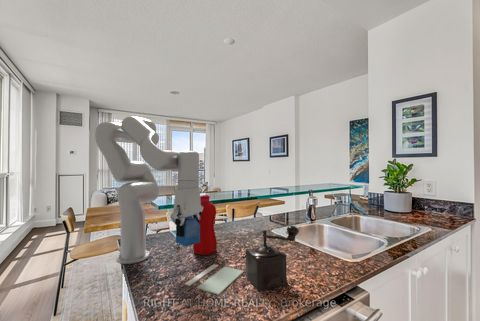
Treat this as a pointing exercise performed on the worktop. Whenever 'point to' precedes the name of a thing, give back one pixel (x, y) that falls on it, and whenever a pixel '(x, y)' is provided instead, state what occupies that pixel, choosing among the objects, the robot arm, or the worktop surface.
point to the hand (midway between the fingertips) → (188, 232)
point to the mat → (220, 280)
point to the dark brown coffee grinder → (268, 263)
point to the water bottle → (206, 228)
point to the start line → (201, 275)
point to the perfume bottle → (189, 232)
